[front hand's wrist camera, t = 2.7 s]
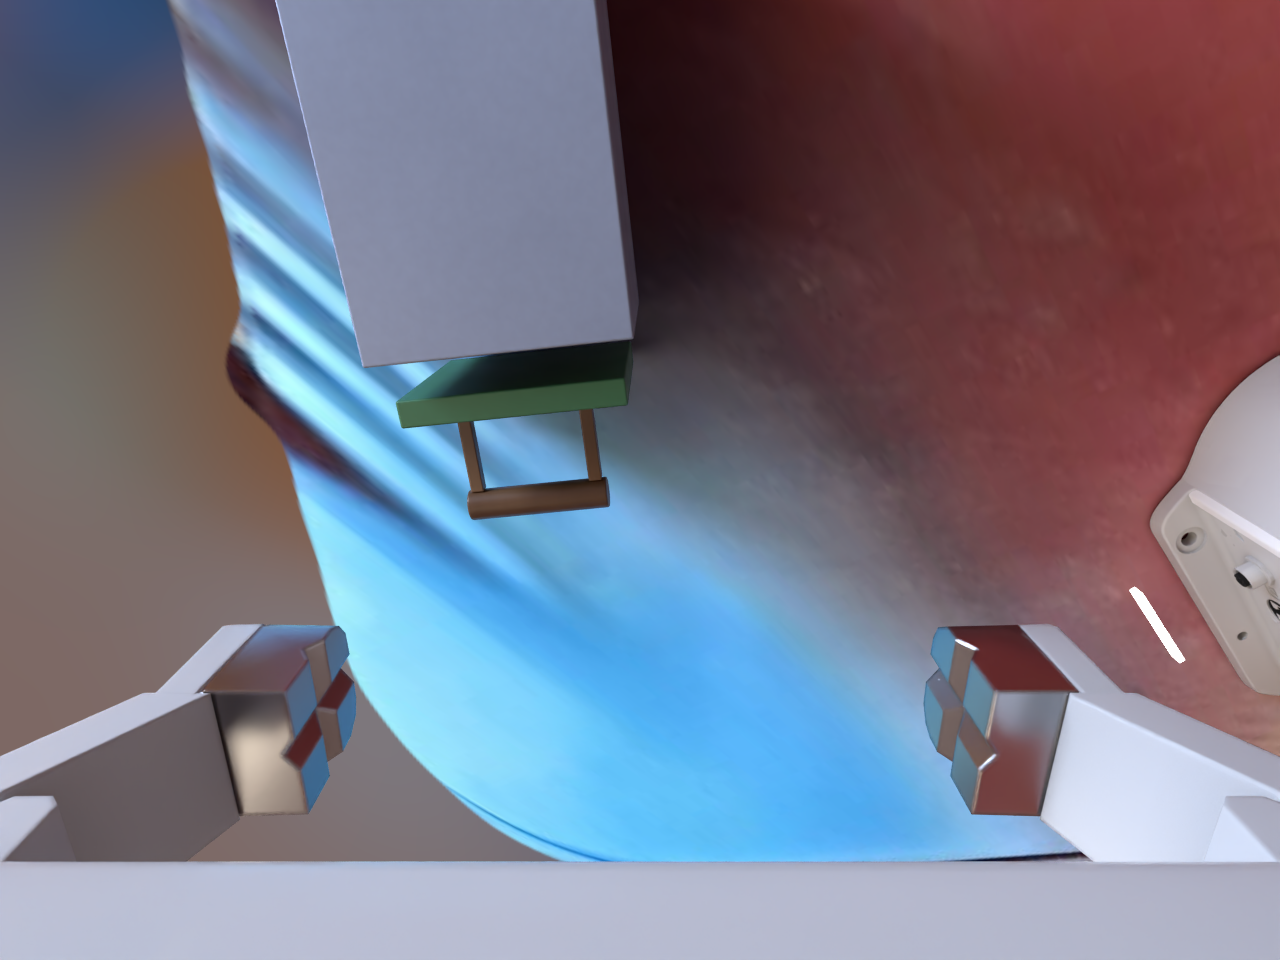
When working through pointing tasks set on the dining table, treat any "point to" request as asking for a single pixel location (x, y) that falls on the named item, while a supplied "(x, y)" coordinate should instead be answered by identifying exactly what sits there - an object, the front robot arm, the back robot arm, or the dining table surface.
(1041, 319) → the dining table surface
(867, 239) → the dining table surface
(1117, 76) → the dining table surface
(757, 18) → the dining table surface
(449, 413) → the drawer
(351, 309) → the cabinet
